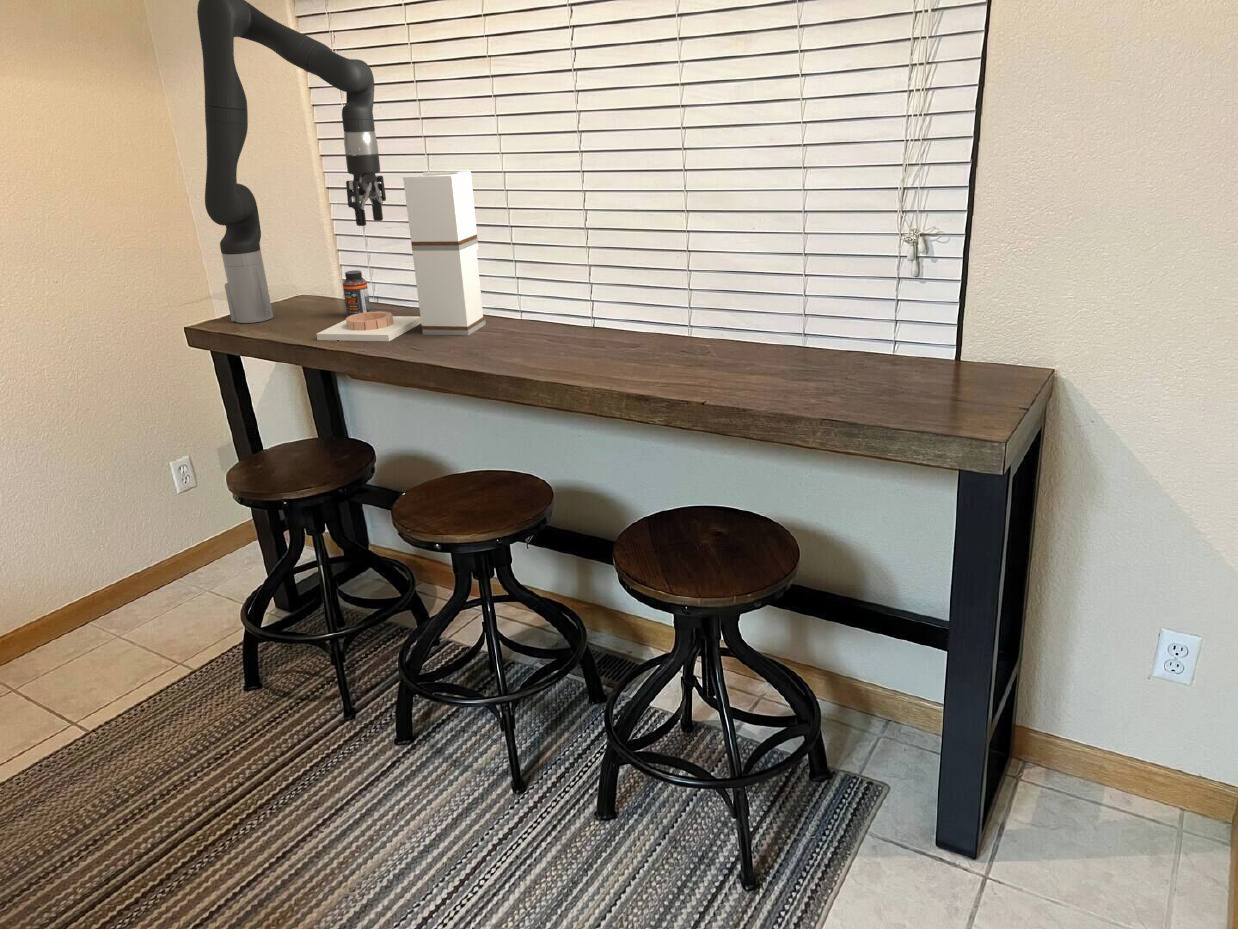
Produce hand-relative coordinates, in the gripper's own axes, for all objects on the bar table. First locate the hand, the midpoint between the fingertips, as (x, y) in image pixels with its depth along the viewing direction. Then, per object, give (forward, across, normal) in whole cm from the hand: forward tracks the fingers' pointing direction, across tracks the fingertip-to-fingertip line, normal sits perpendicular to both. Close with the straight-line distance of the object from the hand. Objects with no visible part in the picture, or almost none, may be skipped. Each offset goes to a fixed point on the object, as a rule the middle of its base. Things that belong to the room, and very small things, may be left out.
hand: (370, 223), depth 220 cm
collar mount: (+23, +12, +4) cm, 27 cm away
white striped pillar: (+23, +9, +24) cm, 34 cm away
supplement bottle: (+24, -2, -7) cm, 25 cm away
